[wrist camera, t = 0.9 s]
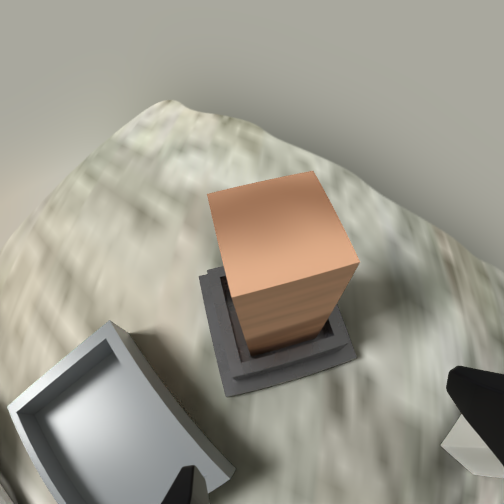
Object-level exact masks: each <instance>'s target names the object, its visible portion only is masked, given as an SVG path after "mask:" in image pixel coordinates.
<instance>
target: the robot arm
mask: <svg viewBox="0 0 504 504" xmlns="http://www.w3.org/2000/svg"><path fill="white" fill-rule="evenodd" d="M446 389H447V392H448V394H449V395H450V397H451V398H452V400H453V401H454V403H455V404H456V406H457V407H458V409H459V410H460V412H461V413H462V415H463V416H464V418H465V419H466V420H467V422H468V423H469V424H470V425H471V427H472V428H473V429H474V430H475V431H476V433H477V434H478V435H479V436H480V438H481V439H482V440H483V441H484V442H485V444H486V445H487V446H488V447H489V449H490V450H491V451H492V452H493V454H494V455H495V456H496V457H497V459H498V460H499V461H500V462H501V464H502V465H503V466H504V374H499V373H494V372H489V371H483V370H478V369H473V368H468V367H464V366H456V367H455V368H453V369H452V370H450V372H449V374H448V380H447V385H446ZM161 504H210V501H209V496H208V491H207V485H206V481H205V478H204V477H203V475H202V474H201V472H200V471H199V470H198V468H197V467H196V466H195V465H189V466H183V467H182V468H181V469H180V471H179V473H178V475H177V476H176V478H175V480H174V482H173V483H172V485H171V487H170V489H169V490H168V492H167V494H166V495H165V497H164V499H163V501H162V502H161Z"/></svg>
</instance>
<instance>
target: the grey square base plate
mask: <svg viewBox="0 0 504 504" xmlns="http://www.w3.org/2000/svg"><path fill="white" fill-rule="evenodd" d="M207 273H208V274H206V275H202V276H199V280H200V285H201V290H202V295H203V300H204V305H205V310H206V314H207V319H208V324H209V328H210V333H211V337H212V342H213V346H214V350H215V355H216V359H217V363H218V367H219V371H220V376H221V380H222V384H223V388H224V391H225V395H226V397H230V396H235V395H239V394H243V393H248V392H252V391H256V390H259V389H263V388H267V387H271V386H274V385H278V384H282V383H285V382H288V381H292V380H295V379H298V378H302V377H305V376H308V375H311V374H314V373H317V372H320V371H323V370H326V369H329V368H332V367H335V366H338V365H340V364H343V363H346V362H349V361H351V360H354V359H356V358H357V357H356V354H355V351H354V348H353V345H352V343H351V340H350V337H349V334H348V332H347V329H346V326H345V324H344V321H343V318H342V316H341V313H340V310H339V308H338V305H337V304H336V306H335V307H334V309H333V311H332V313H331V314H330V316H329V318H328V319H327V321H326V322H325V324H324V326H323V327H322V329H321V331H320V332H319V334H318V335H317V337H316V338H314V339H311V340H308V341H305V342H301V343H298V344H295V345H291V346H288V347H285V348H281V349H278V350H274V351H270V352H267V353H263V354H259V355H255V356H252V357H251V355H250V352H249V349H248V346H247V343H246V340H245V337H244V334H243V331H242V328H241V325H240V322H239V319H238V316H237V313H236V310H235V307H234V304H233V301H232V297H231V293H230V289H229V285H228V281H227V277H226V273H225V269H224V266H222V267H218V268H214V269H210V270H207Z"/></svg>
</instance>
